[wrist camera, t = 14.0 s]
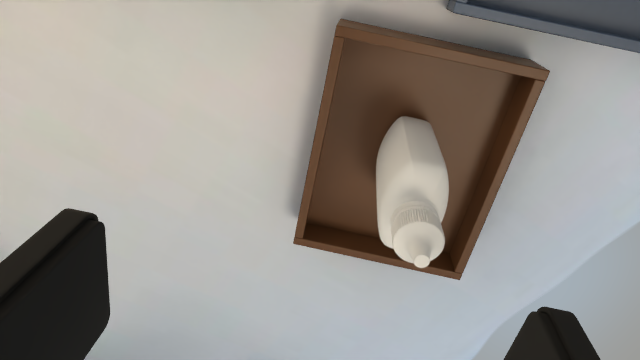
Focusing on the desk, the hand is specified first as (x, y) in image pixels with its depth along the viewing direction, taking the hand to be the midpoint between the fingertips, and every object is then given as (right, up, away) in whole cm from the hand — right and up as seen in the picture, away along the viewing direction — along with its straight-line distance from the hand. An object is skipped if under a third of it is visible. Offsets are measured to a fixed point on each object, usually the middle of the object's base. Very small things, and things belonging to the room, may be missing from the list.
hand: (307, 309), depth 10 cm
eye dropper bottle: (+6, +5, +20) cm, 22 cm away
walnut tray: (+6, +5, +21) cm, 22 cm away
